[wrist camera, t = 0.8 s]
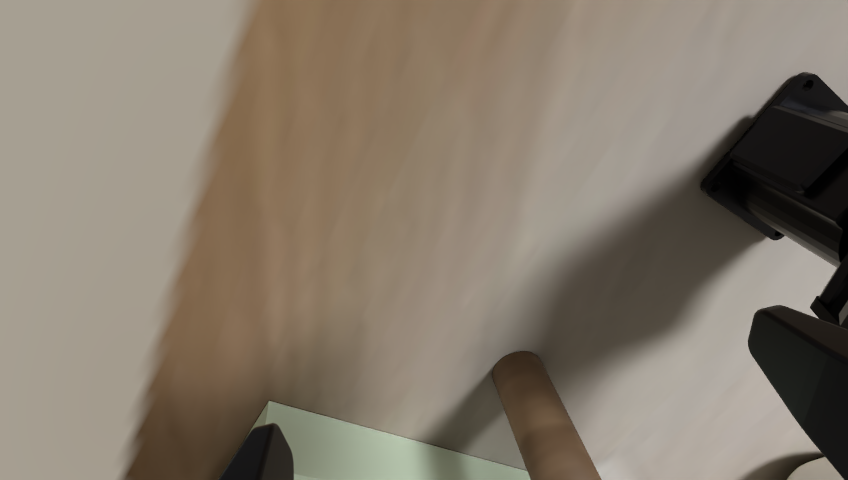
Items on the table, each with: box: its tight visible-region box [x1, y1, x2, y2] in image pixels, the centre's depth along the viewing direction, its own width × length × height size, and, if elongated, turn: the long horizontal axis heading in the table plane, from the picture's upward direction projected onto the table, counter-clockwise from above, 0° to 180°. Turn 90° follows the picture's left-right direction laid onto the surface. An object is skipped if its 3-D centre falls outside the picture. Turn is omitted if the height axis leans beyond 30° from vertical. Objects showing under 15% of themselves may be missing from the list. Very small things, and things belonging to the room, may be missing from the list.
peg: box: [492, 351, 601, 480], centre depth 24 cm, size 3×3×10 cm
